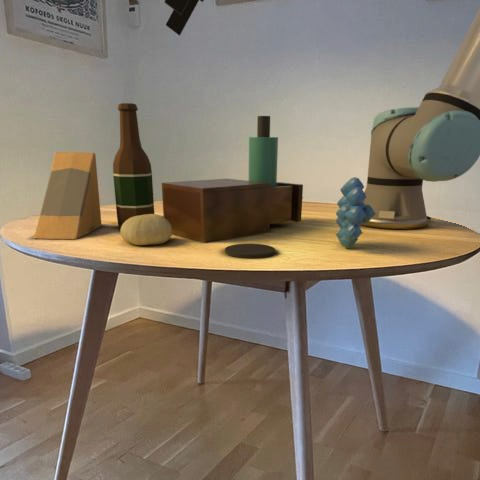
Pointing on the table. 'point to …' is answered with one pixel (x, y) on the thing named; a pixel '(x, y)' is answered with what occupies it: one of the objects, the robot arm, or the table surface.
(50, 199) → the sandwich container
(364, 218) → the grapes
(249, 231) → the cabinet
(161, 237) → the sea urchin shell
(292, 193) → the drawer
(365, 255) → the table surface
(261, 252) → the mat
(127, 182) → the beer bottle
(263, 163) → the soap bottle
